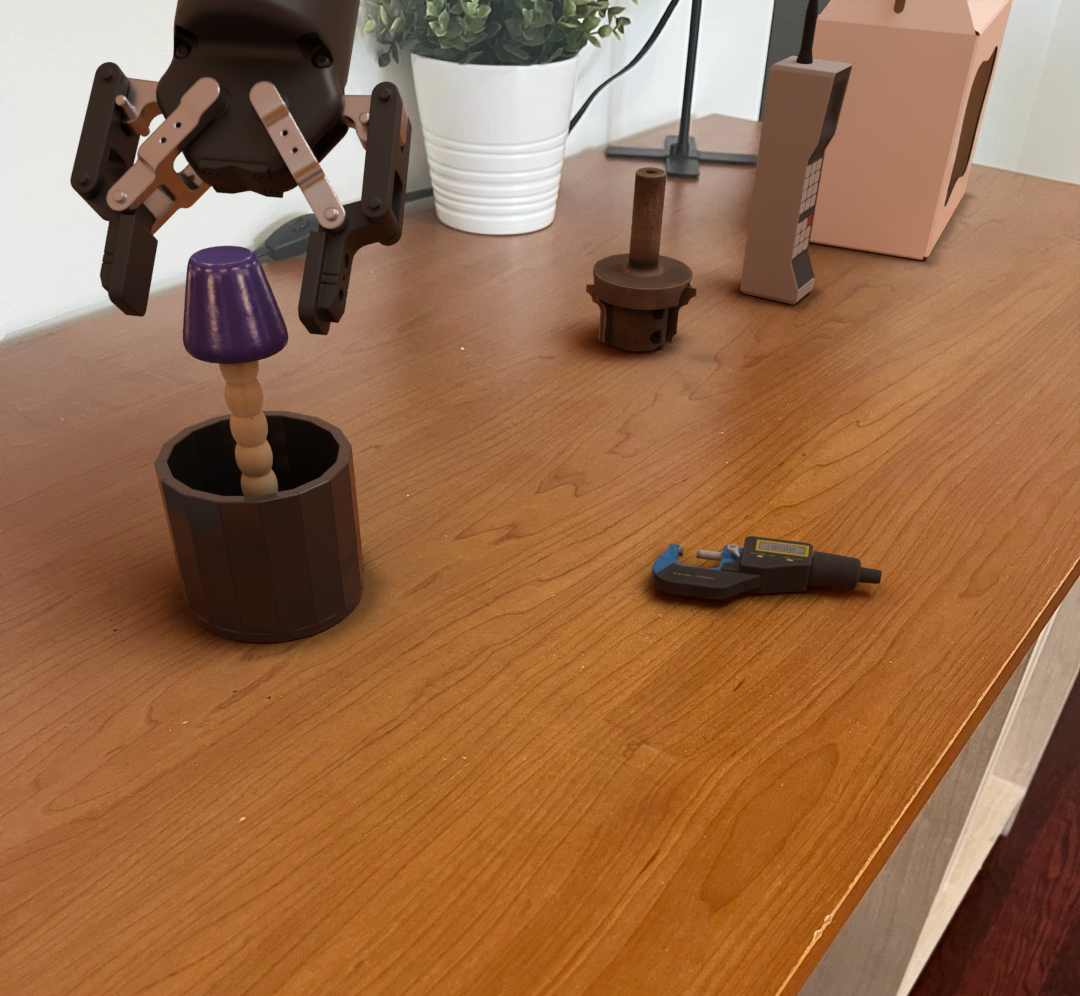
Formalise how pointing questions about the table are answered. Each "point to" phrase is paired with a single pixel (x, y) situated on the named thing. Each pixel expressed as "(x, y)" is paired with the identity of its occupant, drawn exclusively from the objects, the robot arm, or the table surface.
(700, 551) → the micrometer
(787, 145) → the vintage mobile phone
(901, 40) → the gable box
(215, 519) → the holder
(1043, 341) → the table surface
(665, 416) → the table surface
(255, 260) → the toy lamp
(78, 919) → the table surface
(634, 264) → the industrial component
